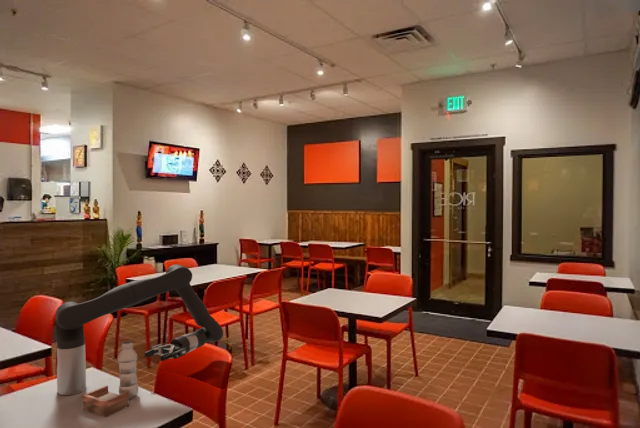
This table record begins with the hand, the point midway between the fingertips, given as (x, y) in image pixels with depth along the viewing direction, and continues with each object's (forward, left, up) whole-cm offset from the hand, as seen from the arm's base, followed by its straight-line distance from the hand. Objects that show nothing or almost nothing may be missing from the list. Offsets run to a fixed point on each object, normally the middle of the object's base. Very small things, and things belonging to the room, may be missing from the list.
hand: (152, 356), depth 169 cm
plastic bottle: (0, -11, -11) cm, 16 cm away
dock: (0, -21, -11) cm, 23 cm away
